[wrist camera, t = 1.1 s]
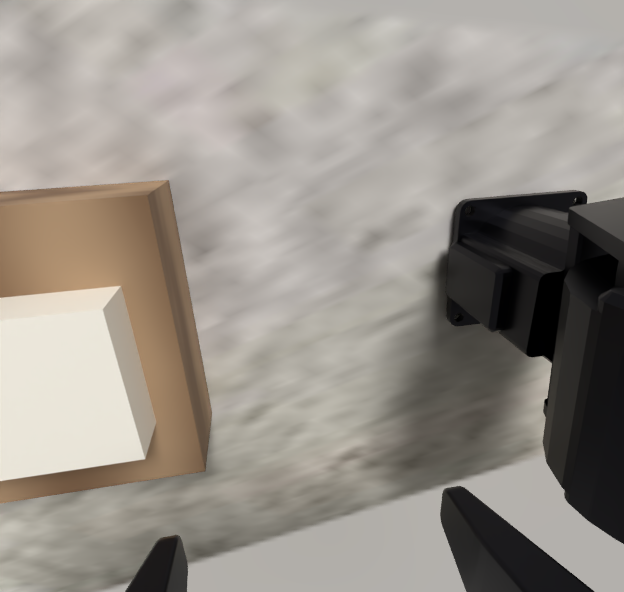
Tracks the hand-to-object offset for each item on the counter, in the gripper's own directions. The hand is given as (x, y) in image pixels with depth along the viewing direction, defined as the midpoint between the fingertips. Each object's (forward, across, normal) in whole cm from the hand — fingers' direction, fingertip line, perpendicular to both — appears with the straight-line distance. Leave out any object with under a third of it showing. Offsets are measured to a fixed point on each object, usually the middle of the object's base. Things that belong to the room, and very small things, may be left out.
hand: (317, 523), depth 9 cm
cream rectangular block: (+8, +10, 0) cm, 13 cm away
